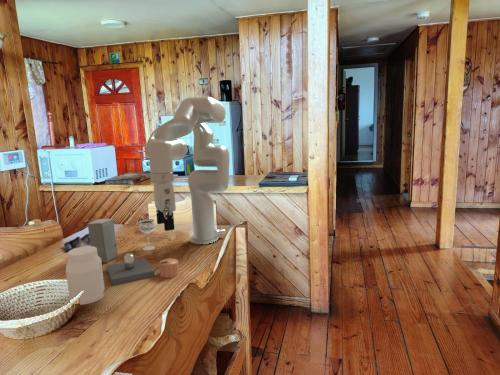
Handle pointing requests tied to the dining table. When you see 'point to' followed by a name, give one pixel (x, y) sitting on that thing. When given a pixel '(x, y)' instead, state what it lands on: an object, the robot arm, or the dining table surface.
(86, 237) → the snack package
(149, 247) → the wineglass
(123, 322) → the dining table surface
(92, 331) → the dining table surface
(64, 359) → the dining table surface
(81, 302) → the jar
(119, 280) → the post stand
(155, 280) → the dining table surface
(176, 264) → the orange dial knob
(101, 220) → the skincare box
